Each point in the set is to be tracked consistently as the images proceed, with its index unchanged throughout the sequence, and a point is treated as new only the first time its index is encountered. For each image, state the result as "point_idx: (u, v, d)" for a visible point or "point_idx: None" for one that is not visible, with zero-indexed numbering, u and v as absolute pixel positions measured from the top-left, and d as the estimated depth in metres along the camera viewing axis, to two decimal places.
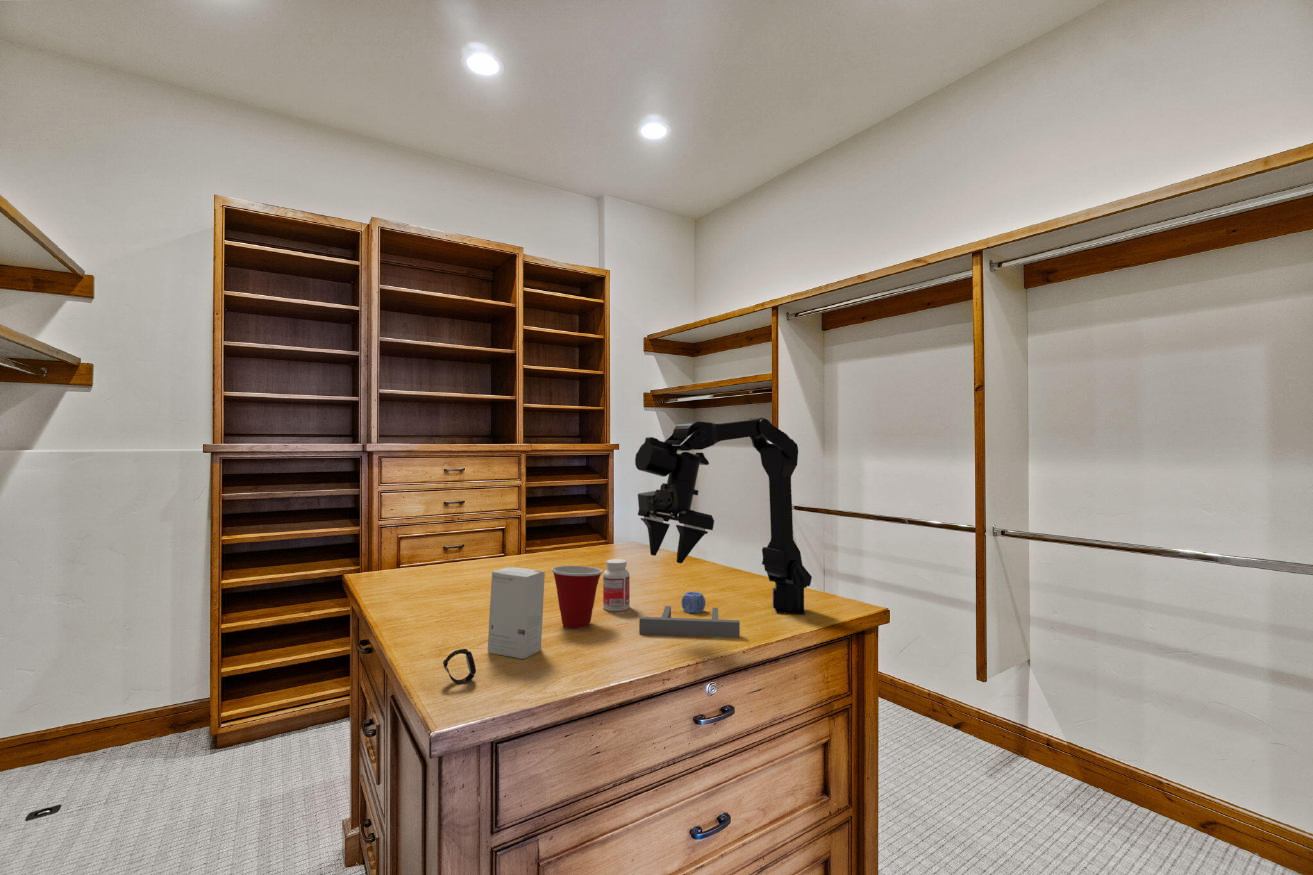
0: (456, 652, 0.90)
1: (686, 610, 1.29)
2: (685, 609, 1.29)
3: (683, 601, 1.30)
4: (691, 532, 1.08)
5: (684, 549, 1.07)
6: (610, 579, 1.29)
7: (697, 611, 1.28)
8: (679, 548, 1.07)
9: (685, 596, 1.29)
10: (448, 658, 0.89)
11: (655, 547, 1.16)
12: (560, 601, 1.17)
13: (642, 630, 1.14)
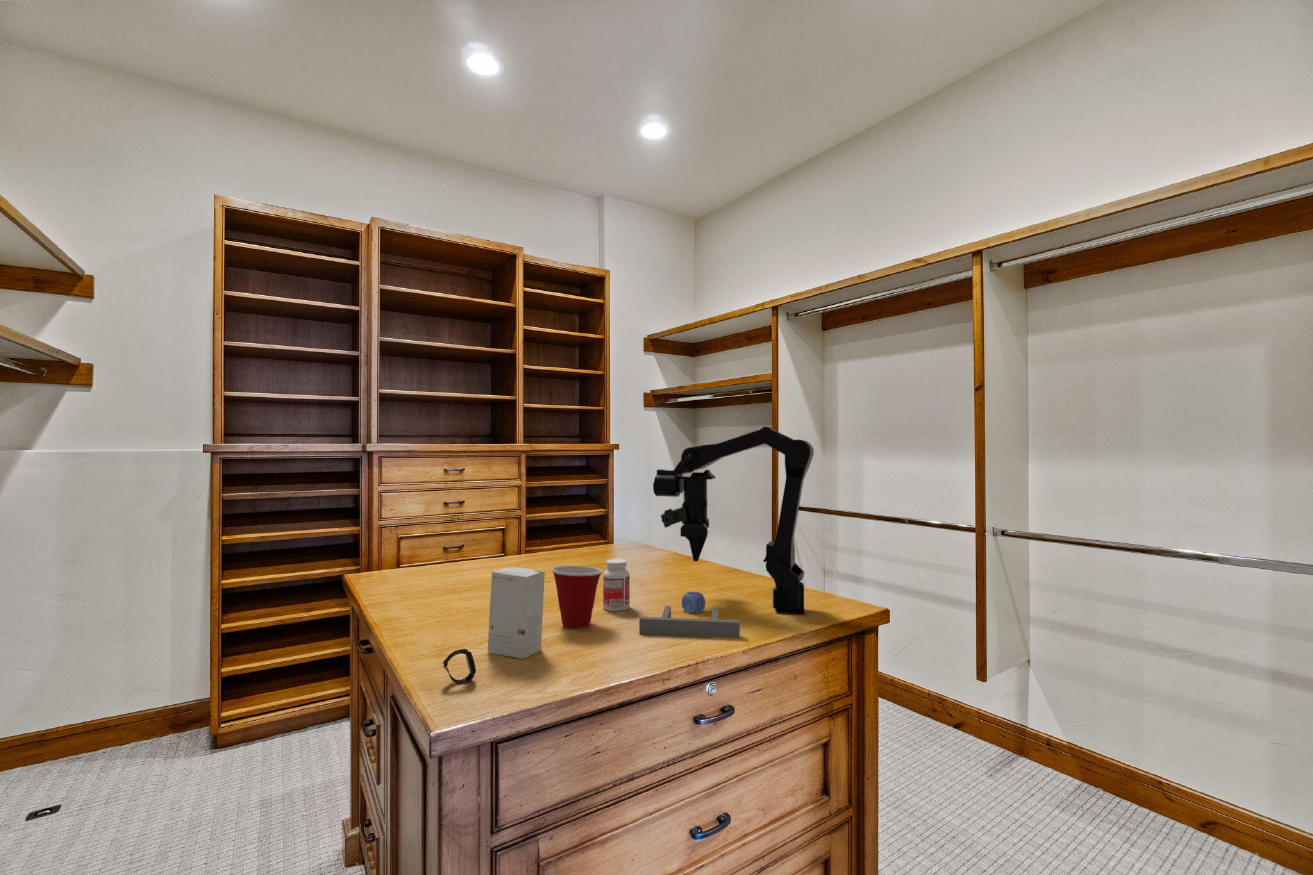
0: (456, 652, 0.90)
1: (686, 610, 1.29)
2: (685, 609, 1.29)
3: (683, 601, 1.30)
4: (697, 536, 1.38)
5: (694, 550, 1.38)
6: (610, 579, 1.29)
7: (697, 611, 1.28)
8: (691, 550, 1.38)
9: (685, 596, 1.29)
10: (448, 658, 0.89)
11: None
12: (560, 601, 1.17)
13: (642, 630, 1.14)
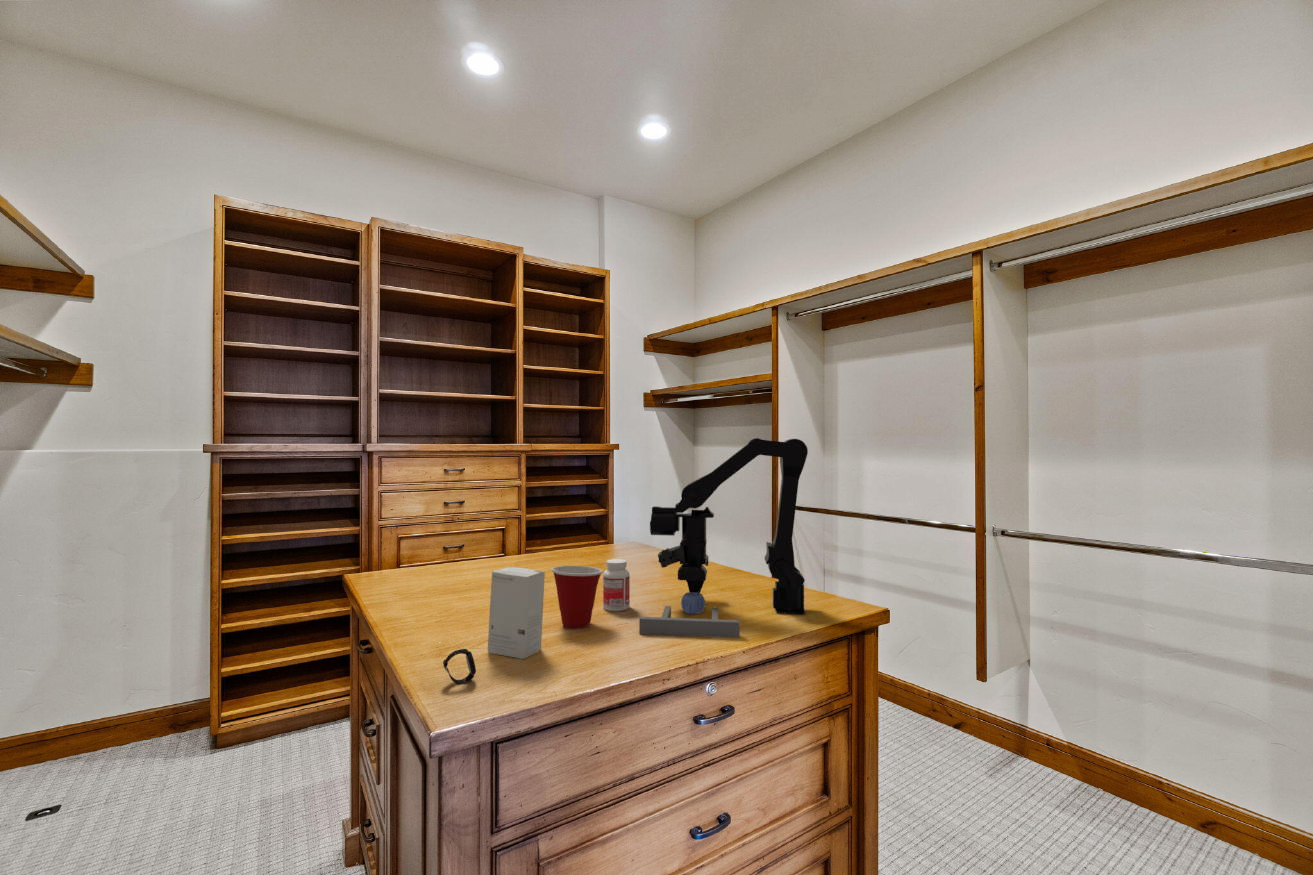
0: (456, 652, 0.90)
1: (686, 611, 1.28)
2: (685, 610, 1.28)
3: (683, 601, 1.29)
4: None
5: (693, 591, 1.32)
6: (610, 579, 1.29)
7: (697, 612, 1.27)
8: (689, 591, 1.33)
9: (685, 596, 1.28)
10: (448, 658, 0.89)
11: None
12: (560, 601, 1.17)
13: (642, 630, 1.14)
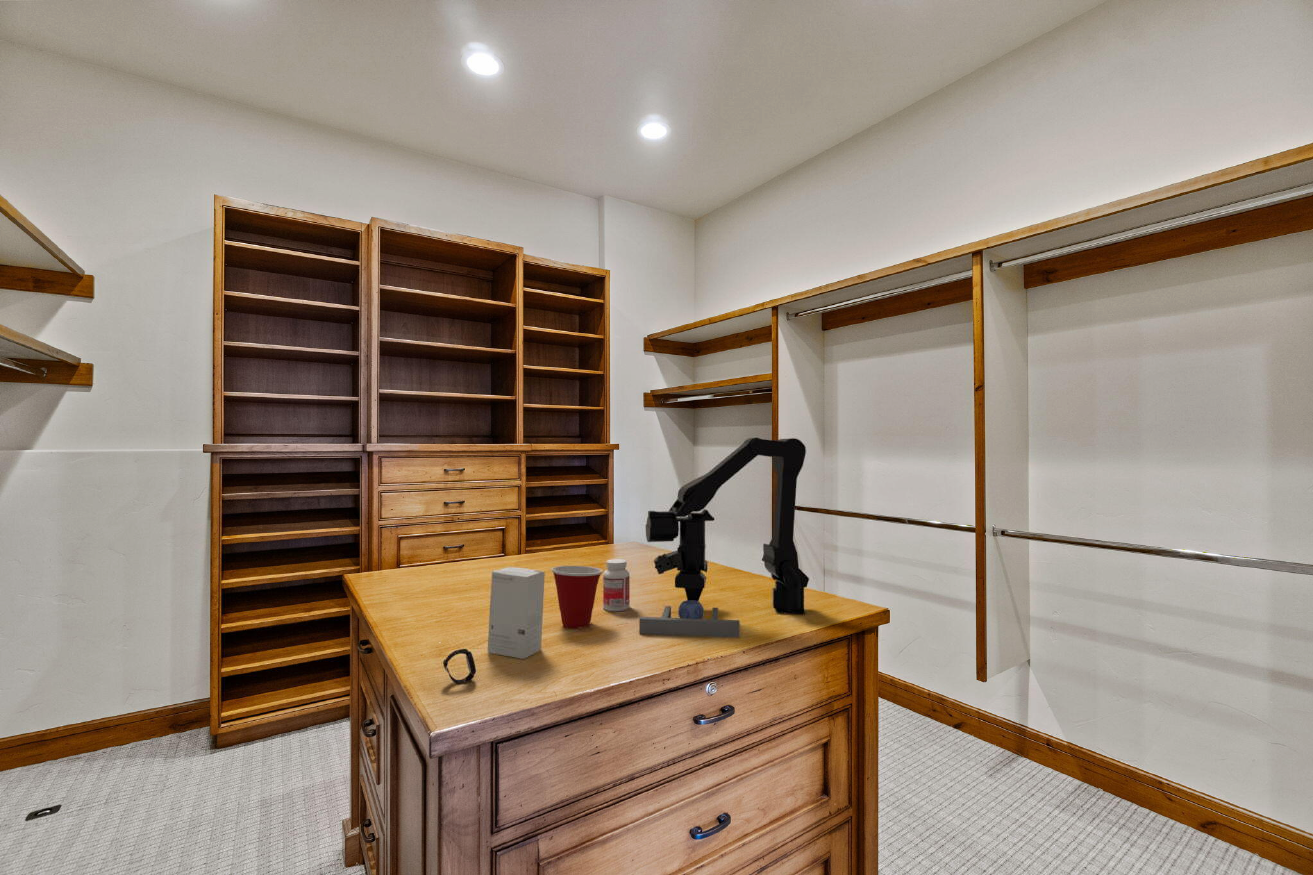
0: (456, 652, 0.90)
1: None
2: None
3: (680, 610, 1.22)
4: None
5: (691, 599, 1.25)
6: (610, 579, 1.29)
7: None
8: (687, 599, 1.26)
9: (682, 605, 1.21)
10: (448, 658, 0.89)
11: None
12: (560, 601, 1.17)
13: (642, 630, 1.14)
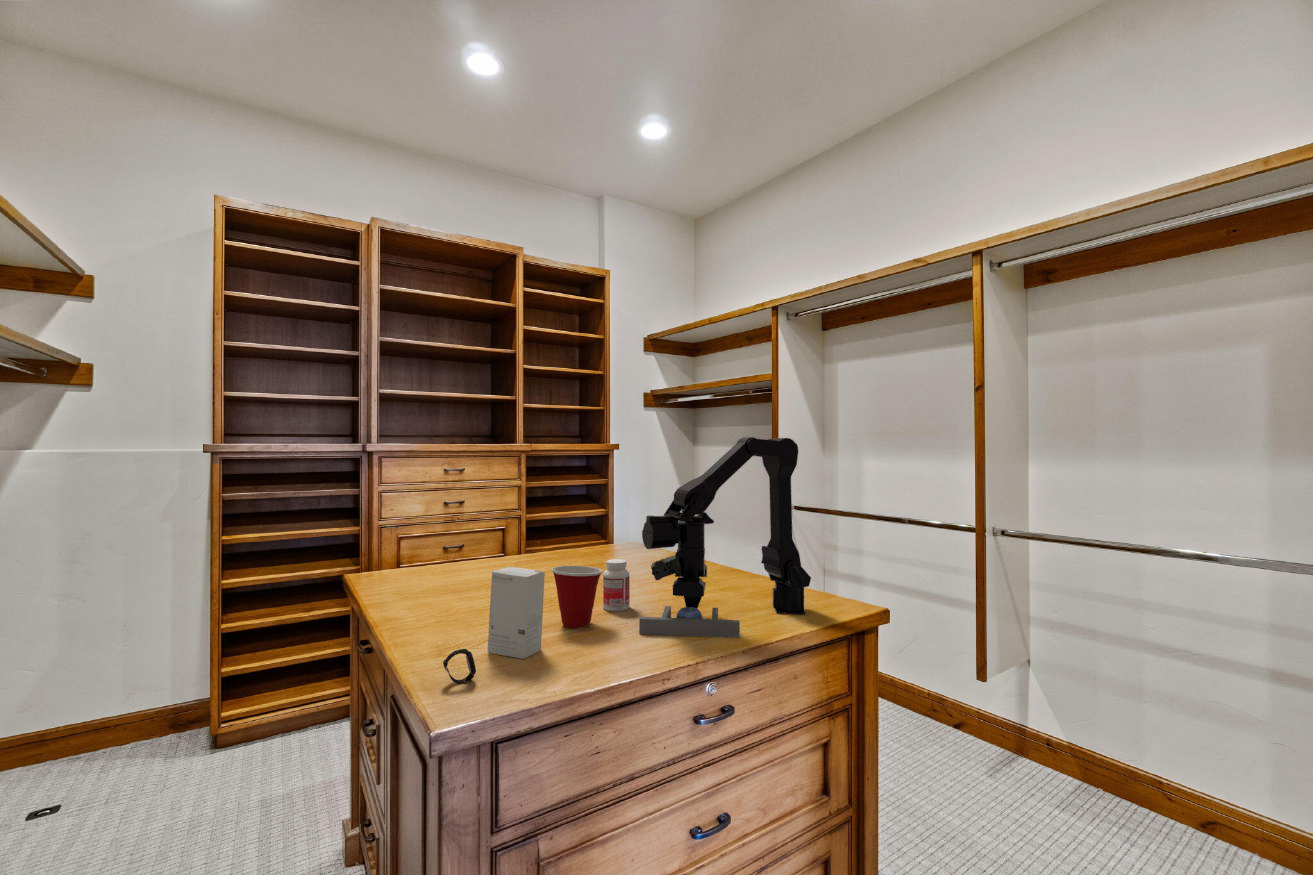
0: (456, 652, 0.90)
1: None
2: None
3: None
4: None
5: (690, 606, 1.20)
6: (610, 579, 1.29)
7: None
8: (686, 606, 1.20)
9: (680, 612, 1.16)
10: (448, 658, 0.89)
11: None
12: (560, 601, 1.17)
13: (642, 630, 1.14)
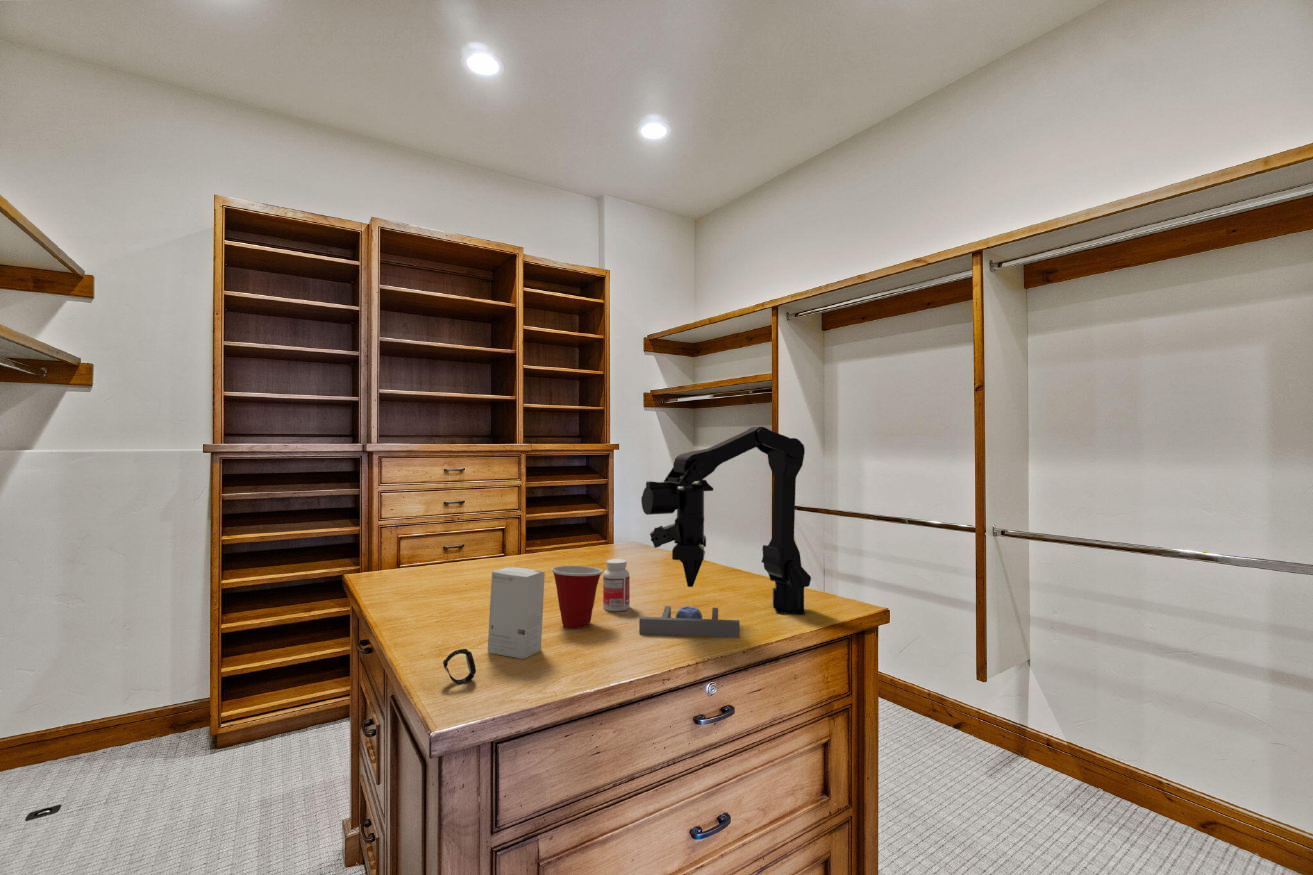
0: (456, 652, 0.90)
1: None
2: None
3: (678, 617, 1.17)
4: None
5: (689, 574, 1.18)
6: (610, 579, 1.29)
7: None
8: (685, 574, 1.19)
9: (680, 612, 1.17)
10: (448, 658, 0.89)
11: None
12: (560, 601, 1.17)
13: (642, 630, 1.14)
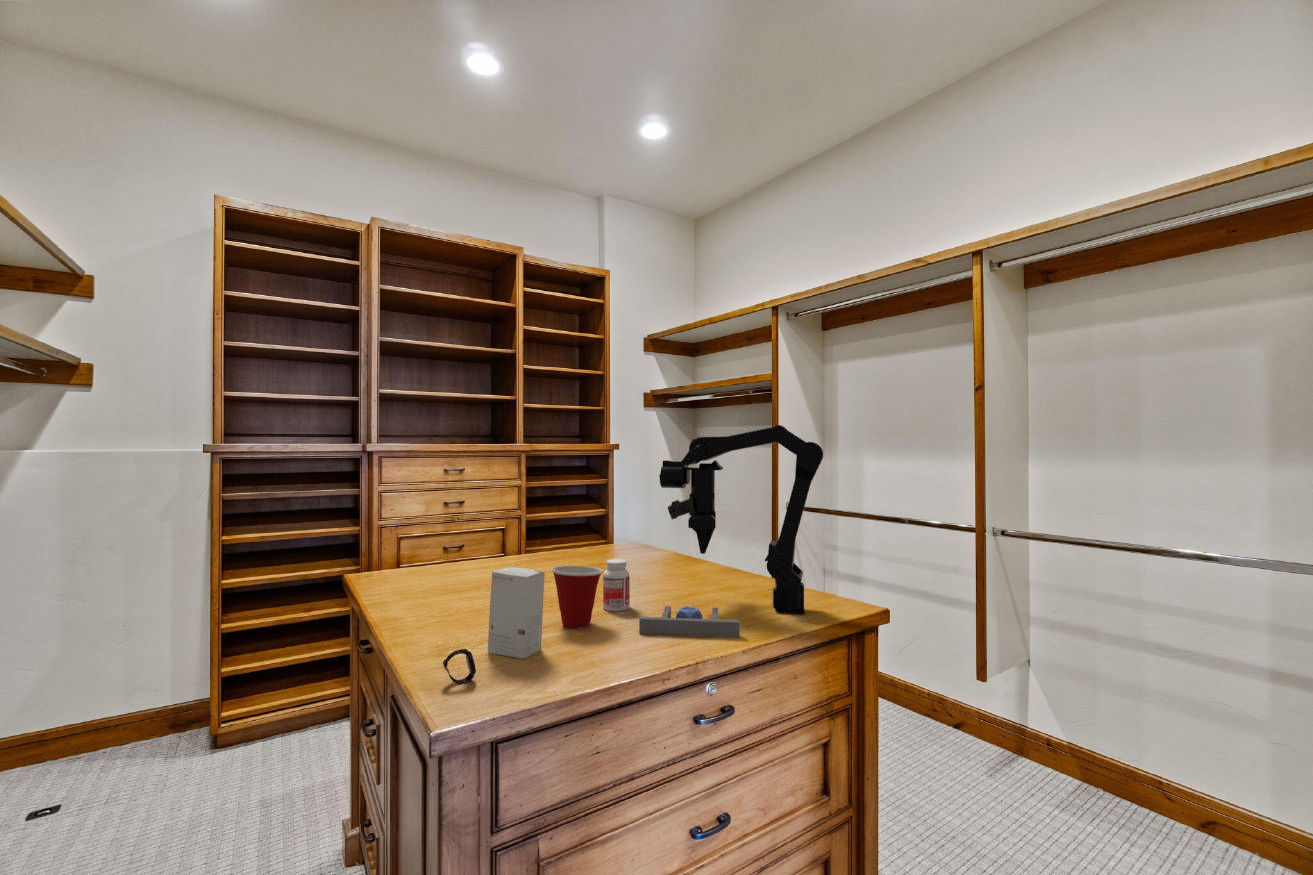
0: (456, 652, 0.90)
1: None
2: None
3: (678, 617, 1.17)
4: (704, 528, 1.35)
5: (702, 542, 1.35)
6: (610, 579, 1.29)
7: None
8: (698, 542, 1.36)
9: (680, 612, 1.17)
10: (448, 658, 0.89)
11: None
12: (560, 601, 1.17)
13: (642, 630, 1.14)
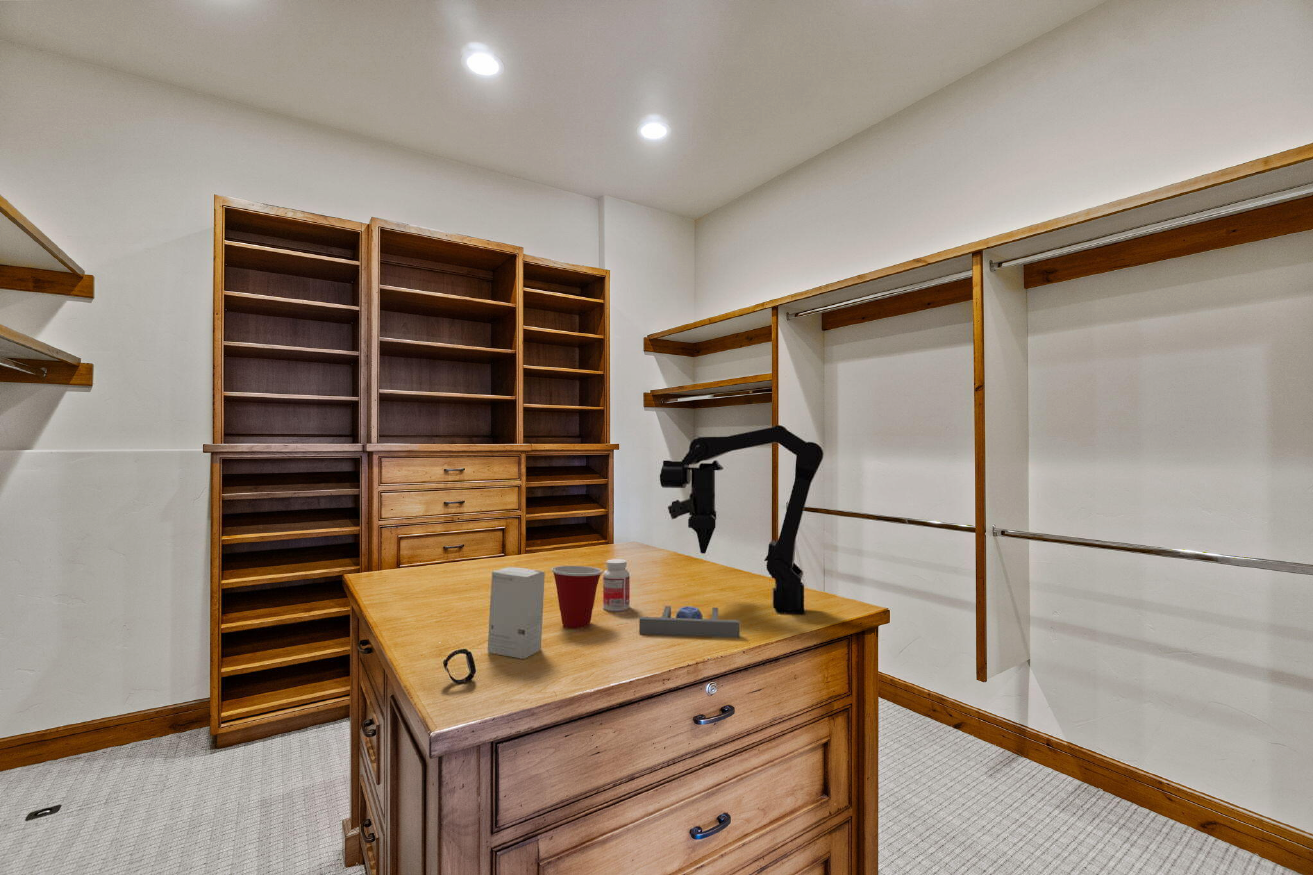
0: (456, 652, 0.90)
1: None
2: None
3: (678, 617, 1.17)
4: (705, 528, 1.35)
5: (702, 542, 1.36)
6: (610, 579, 1.29)
7: None
8: None
9: (680, 612, 1.17)
10: (448, 658, 0.89)
11: None
12: (560, 601, 1.17)
13: (642, 630, 1.14)
